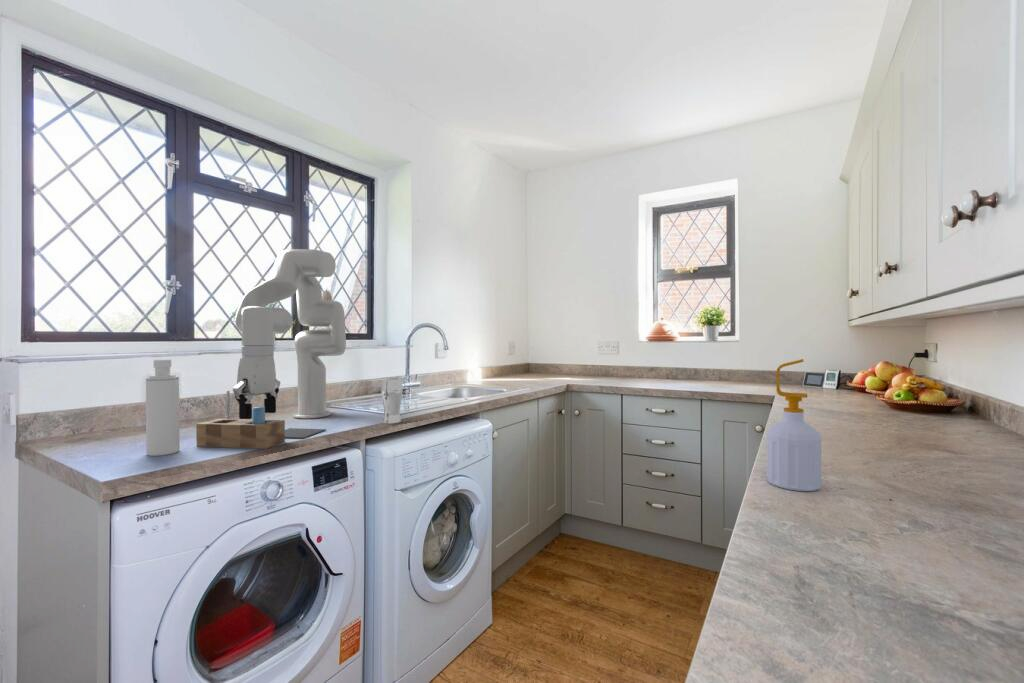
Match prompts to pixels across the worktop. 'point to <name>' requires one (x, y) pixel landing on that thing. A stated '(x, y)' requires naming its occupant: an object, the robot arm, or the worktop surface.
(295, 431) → the mat
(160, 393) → the white capped bottle
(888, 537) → the worktop surface
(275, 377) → the robot arm
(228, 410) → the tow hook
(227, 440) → the hole block
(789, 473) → the soap bottle
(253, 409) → the pin
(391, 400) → the beer glass
